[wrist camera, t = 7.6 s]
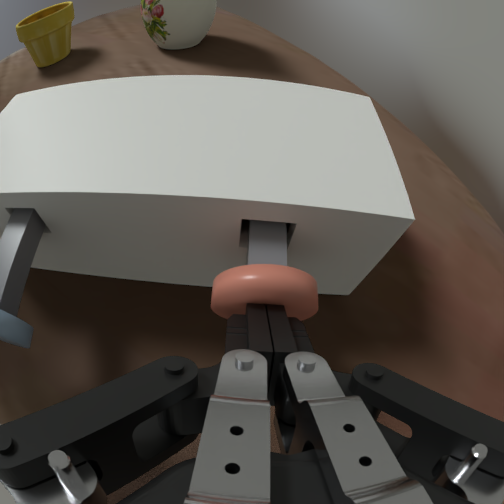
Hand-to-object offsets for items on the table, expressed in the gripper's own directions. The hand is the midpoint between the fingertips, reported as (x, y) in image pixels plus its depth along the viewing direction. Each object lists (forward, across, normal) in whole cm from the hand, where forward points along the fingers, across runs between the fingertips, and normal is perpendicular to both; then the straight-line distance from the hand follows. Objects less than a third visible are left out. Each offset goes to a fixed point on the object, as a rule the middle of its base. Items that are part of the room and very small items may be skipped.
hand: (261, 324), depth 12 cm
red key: (+5, 0, -2) cm, 5 cm away
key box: (+11, +6, -2) cm, 13 cm away
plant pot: (+34, +36, -25) cm, 56 cm away
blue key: (+3, +13, 0) cm, 13 cm away
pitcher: (+35, +13, -26) cm, 46 cm away
